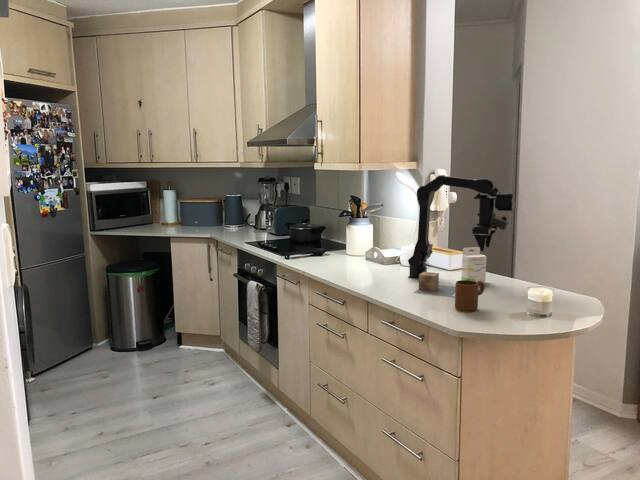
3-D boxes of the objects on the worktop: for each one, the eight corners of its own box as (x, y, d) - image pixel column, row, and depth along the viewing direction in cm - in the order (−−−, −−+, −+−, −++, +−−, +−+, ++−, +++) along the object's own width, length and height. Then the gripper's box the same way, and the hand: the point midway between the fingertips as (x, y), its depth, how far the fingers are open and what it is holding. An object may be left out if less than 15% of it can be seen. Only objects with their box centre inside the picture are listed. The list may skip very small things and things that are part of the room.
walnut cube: (418, 289, 206) (419, 274, 205) (423, 286, 211) (424, 271, 210) (433, 291, 203) (434, 276, 202) (438, 288, 208) (438, 273, 207)
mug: (475, 303, 187) (475, 277, 186) (491, 308, 181) (492, 281, 179) (450, 308, 181) (450, 281, 180) (466, 313, 175) (466, 286, 173)
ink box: (467, 285, 212) (468, 249, 210) (460, 282, 217) (461, 247, 215) (486, 283, 215) (487, 248, 212) (479, 281, 219) (480, 246, 217)
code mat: (413, 293, 202) (413, 292, 202) (426, 284, 215) (426, 283, 215) (470, 300, 191) (470, 299, 191) (481, 290, 205) (481, 289, 205)
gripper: (502, 213, 197) (500, 254, 199) (512, 208, 213) (510, 246, 215) (472, 212, 203) (471, 252, 205) (484, 207, 218) (482, 245, 221)
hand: (485, 249), depth 211 cm, fingers open, 9 cm apart
